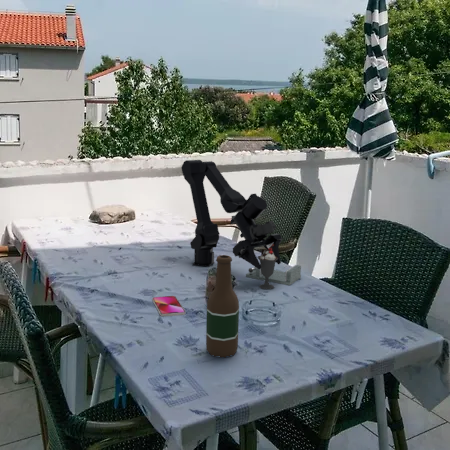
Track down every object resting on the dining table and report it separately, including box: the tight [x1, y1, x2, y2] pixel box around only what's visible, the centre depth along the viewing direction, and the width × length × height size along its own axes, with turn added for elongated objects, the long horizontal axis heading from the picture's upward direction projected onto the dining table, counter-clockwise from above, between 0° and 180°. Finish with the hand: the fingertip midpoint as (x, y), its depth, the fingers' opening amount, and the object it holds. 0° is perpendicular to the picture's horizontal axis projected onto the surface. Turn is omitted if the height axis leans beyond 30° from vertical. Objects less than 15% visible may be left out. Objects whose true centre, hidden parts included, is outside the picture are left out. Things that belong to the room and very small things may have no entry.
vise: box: [245, 264, 302, 286], centre depth 192 cm, size 16×10×4 cm, turn 61°
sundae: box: [257, 244, 278, 290], centre depth 180 cm, size 7×7×15 cm
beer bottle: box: [205, 254, 240, 358], centre depth 132 cm, size 8×8×24 cm
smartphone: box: [151, 295, 186, 318], centre depth 162 cm, size 7×1×15 cm
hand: (270, 266), depth 179 cm, fingers open, 9 cm apart
